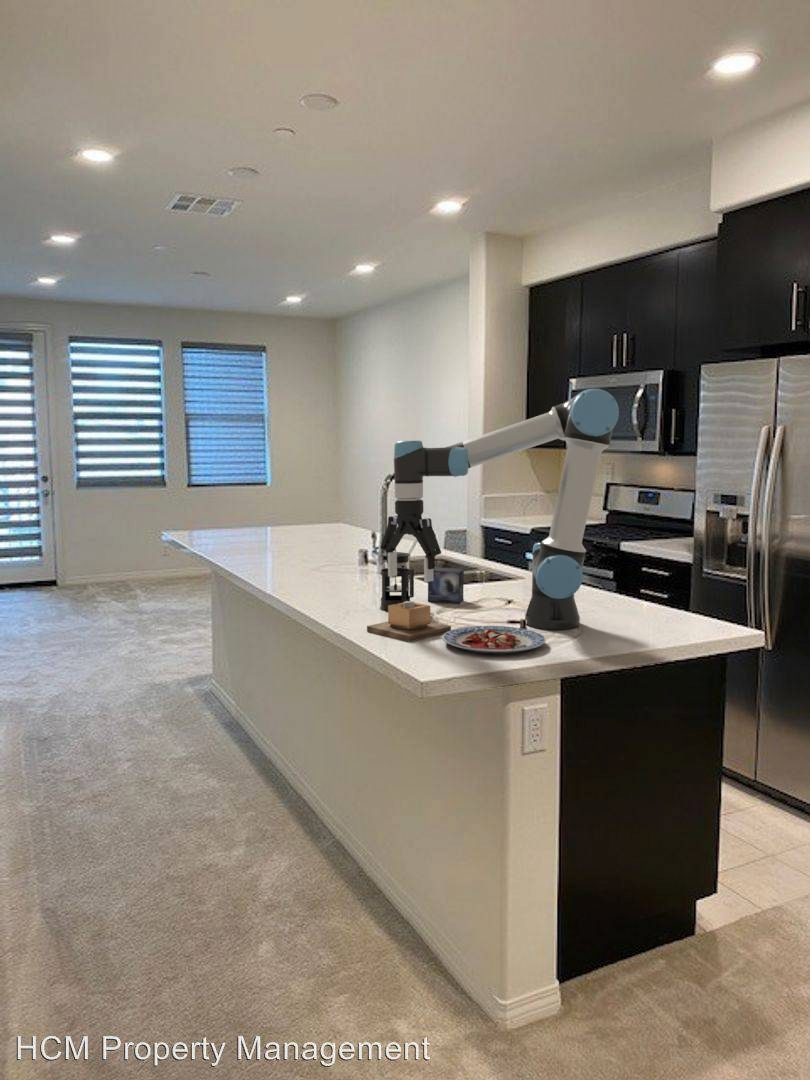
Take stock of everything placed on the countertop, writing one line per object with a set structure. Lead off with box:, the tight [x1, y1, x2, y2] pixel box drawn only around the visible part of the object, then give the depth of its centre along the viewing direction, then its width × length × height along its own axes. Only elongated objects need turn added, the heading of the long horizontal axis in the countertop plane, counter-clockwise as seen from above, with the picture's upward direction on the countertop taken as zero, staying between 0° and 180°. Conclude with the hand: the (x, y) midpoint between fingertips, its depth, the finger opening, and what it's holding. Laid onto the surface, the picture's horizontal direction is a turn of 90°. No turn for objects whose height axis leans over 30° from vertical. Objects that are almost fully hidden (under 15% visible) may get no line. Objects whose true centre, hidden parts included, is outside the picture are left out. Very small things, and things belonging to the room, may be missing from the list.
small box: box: [427, 566, 465, 605], centre depth 258 cm, size 11×6×10 cm, turn 71°
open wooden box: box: [387, 602, 431, 629], centre depth 216 cm, size 8×8×5 cm
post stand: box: [366, 600, 452, 643], centre depth 216 cm, size 16×16×8 cm
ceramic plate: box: [442, 625, 546, 655], centre depth 203 cm, size 26×26×3 cm
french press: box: [379, 548, 415, 612], centre depth 246 cm, size 12×9×23 cm
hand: (410, 578), depth 215 cm, fingers open, 13 cm apart
